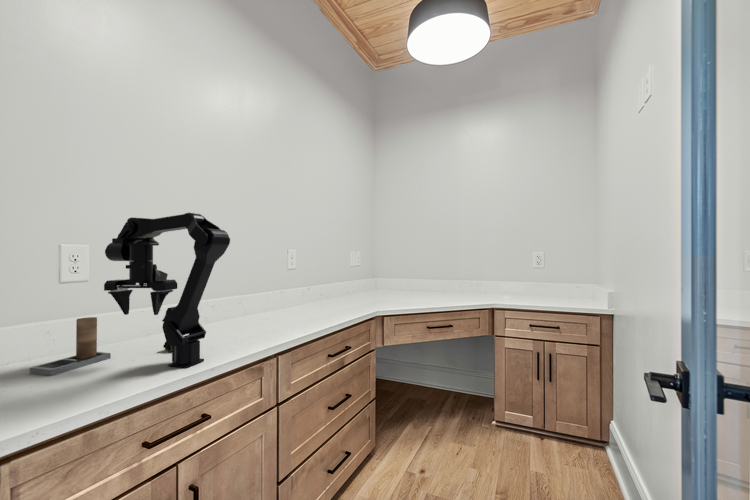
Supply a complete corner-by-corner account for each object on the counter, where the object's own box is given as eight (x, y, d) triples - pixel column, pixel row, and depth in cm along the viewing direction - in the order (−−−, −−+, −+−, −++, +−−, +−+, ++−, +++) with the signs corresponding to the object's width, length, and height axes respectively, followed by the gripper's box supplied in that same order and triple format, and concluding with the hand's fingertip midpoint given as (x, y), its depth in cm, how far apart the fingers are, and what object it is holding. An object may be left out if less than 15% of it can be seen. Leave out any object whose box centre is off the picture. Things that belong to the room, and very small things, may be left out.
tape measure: (179, 346, 113) (179, 335, 113) (197, 347, 112) (197, 335, 112) (163, 352, 107) (163, 340, 107) (182, 353, 105) (182, 341, 105)
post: (99, 359, 98) (100, 317, 99) (81, 363, 94) (81, 320, 95) (91, 357, 100) (92, 316, 101) (72, 361, 96) (73, 319, 97)
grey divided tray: (110, 358, 100) (110, 353, 100) (50, 375, 86) (50, 370, 86) (91, 356, 102) (91, 351, 102) (29, 373, 88) (29, 367, 88)
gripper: (189, 260, 106) (189, 310, 106) (133, 260, 108) (133, 309, 108) (164, 261, 95) (164, 317, 95) (102, 261, 97) (102, 316, 97)
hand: (141, 314), depth 99 cm, fingers open, 9 cm apart
